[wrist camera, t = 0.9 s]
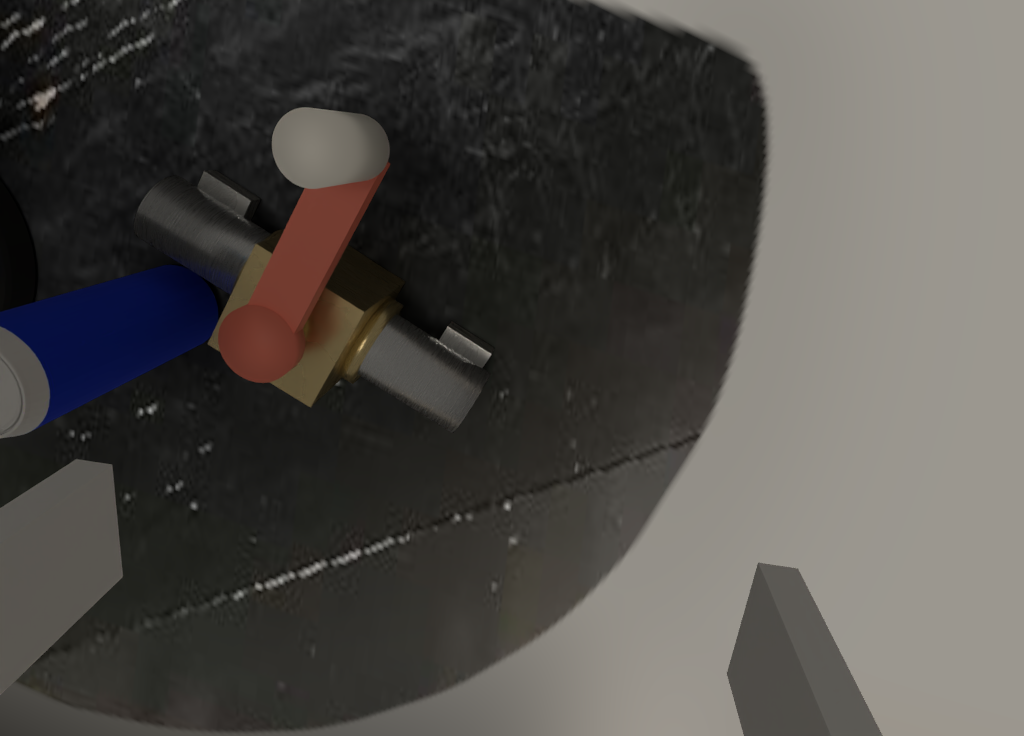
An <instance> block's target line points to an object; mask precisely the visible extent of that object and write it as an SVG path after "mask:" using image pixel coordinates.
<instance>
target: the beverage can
mask: <svg viewBox="0 0 1024 736" xmlns="http://www.w3.org/2000/svg"><path fill="white" fill-rule="evenodd" d="M217 322H218V306H217V302H216V299H215V296H214V294H213V292H212V290H211V288H210V287H209V286H208V284H207V283H206V282H205V281H204V280H203V279H202V278H201V277H200V276H199V275H197V274H196V273H195V272H193V271H191V270H189V269H187V268H184V267H181V266H177V265H164V266H160V267H156V268H153V269H149V270H146V271H142V272H139V273H135V274H132V275H128V276H125V277H121V278H118V279H114V280H111V281H107V282H104V283H100V284H97V285H93V286H90V287H86V288H83V289H79V290H76V291H72V292H69V293H65V294H62V295H58V296H55V297H51V298H47V299H44V300H40V301H37V302H33V303H30V304H26V305H23V306H19V307H16V308H12V309H9V310H5V311H2V312H0V438H6V437H14V436H19V435H23V434H26V433H28V432H31V431H33V430H35V429H37V428H39V427H41V426H42V425H44V424H46V423H48V422H50V421H52V420H54V419H56V418H58V417H60V416H62V415H64V414H66V413H68V412H70V411H72V410H74V409H76V408H78V407H80V406H82V405H83V404H85V403H87V402H89V401H91V400H93V399H95V398H97V397H99V396H101V395H103V394H105V393H107V392H109V391H111V390H113V389H115V388H117V387H119V386H121V385H122V384H124V383H126V382H128V381H130V380H132V379H134V378H136V377H138V376H140V375H142V374H144V373H146V372H148V371H150V370H152V369H154V368H156V367H158V366H160V365H162V364H163V363H165V362H167V361H169V360H171V359H173V358H175V357H177V356H179V355H181V354H183V353H185V352H187V351H189V350H191V349H193V348H195V347H197V346H199V345H201V344H203V343H204V342H205V341H207V340H208V339H209V338H210V337H211V336H212V334H213V331H214V329H215V327H216V325H217Z"/></svg>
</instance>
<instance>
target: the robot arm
mask: <svg viewBox="0 0 1024 736" xmlns="http://www.w3.org/2000/svg"><path fill="white" fill-rule="evenodd" d="M35 279H36V276H35V260H34V253H33V248H32V244H31V240H30V237H29V233H28V230H27V228H26V225H25V222H24V220H23V218H22V215H21V213H20V211H19V209H18V207H17V205H16V203H15V202H14V200H13V198H12V196H11V195H10V193H9V192H8V190H7V189H6V187H5V186H4V184H3V183H2V182H1V180H0V312H2V311H5V310H9V309H12V308H16V307H19V306H23V305H26V304H30V303H32V301H33V297H34V291H35ZM122 577H123V572H122V562H121V552H120V541H119V531H118V520H117V510H116V499H115V489H114V479H113V468H112V465H111V464H105V463H98V462H91V461H85V460H78V459H76V460H74V461H73V462H71V463H70V464H68V465H67V466H65V467H64V468H62V469H60V470H59V471H57V472H56V473H54V474H53V475H51V476H50V477H48V478H46V479H45V480H43V481H42V482H40V483H39V484H37V485H36V486H34V487H32V488H31V489H29V490H28V491H26V492H25V493H23V494H22V495H20V496H18V497H17V498H15V499H14V500H12V501H11V502H9V503H8V504H6V505H4V506H3V507H1V508H0V695H1V694H2V693H3V692H4V691H5V690H6V689H7V688H8V687H9V686H10V685H11V684H12V683H13V682H15V681H16V680H17V679H18V678H19V677H20V676H21V675H22V674H23V673H24V672H25V671H26V670H27V669H28V668H29V667H30V666H31V665H32V664H33V663H34V662H35V661H36V660H37V659H38V658H39V657H40V656H41V655H42V654H43V653H45V652H46V651H47V650H48V649H49V648H50V647H51V646H52V645H53V644H54V643H55V642H56V641H57V640H58V639H59V638H60V637H61V636H62V635H63V634H64V633H65V632H66V631H67V630H68V629H69V628H70V627H71V626H72V625H73V624H74V623H76V622H77V621H78V620H79V619H80V618H81V617H82V616H83V615H84V614H85V613H86V612H87V611H88V610H89V609H90V608H91V607H92V606H93V605H94V604H95V603H96V602H97V601H98V600H99V599H100V598H101V597H102V596H103V595H104V594H106V593H107V592H108V591H109V590H110V589H111V588H112V587H113V586H114V585H115V584H116V583H117V582H118V581H119V580H120V579H121V578H122ZM727 676H728V679H729V683H730V686H731V690H732V694H733V697H734V701H735V705H736V708H737V712H738V715H739V719H740V723H741V726H742V730H743V734H744V736H882V734H881V732H880V730H879V728H878V726H877V724H876V722H875V720H874V718H873V716H872V714H871V712H870V710H869V708H868V706H867V704H866V702H865V700H864V698H863V696H862V694H861V692H860V691H859V688H858V686H857V684H856V682H855V680H854V678H853V677H852V675H851V673H850V671H849V669H848V667H847V665H846V663H845V661H844V659H843V657H842V655H841V653H840V651H839V649H838V647H837V645H836V643H835V641H834V639H833V637H832V635H831V633H830V631H829V629H828V627H827V625H826V623H825V621H824V619H823V617H822V615H821V613H820V611H819V609H818V607H817V605H816V603H815V601H814V600H813V598H812V596H811V594H810V592H809V590H808V588H807V586H806V584H805V582H804V580H803V578H802V576H801V574H800V572H799V570H798V569H796V568H790V567H783V566H776V565H770V564H763V563H758V565H757V569H756V572H755V576H754V579H753V583H752V587H751V590H750V594H749V597H748V601H747V605H746V608H745V612H744V615H743V618H742V622H741V626H740V629H739V633H738V636H737V640H736V644H735V647H734V650H733V654H732V658H731V661H730V665H729V668H728V672H727Z"/></svg>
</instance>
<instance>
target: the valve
mask: <svg viewBox="0 0 1024 736" xmlns="http://www.w3.org/2000/svg"><path fill="white" fill-rule="evenodd" d="M260 200H261V199H260V198H258V197H257V196H255V195H254V194H252V193H251V192H249V191H247V190H246V189H244V188H243V187H241V186H240V185H238V184H237V183H235V182H233V181H232V180H230V179H229V178H227V177H226V176H224V175H222V174H221V173H219V172H218V171H216V170H210V171H204V172H203V175H202V177H201V179H200V182H199V184H198V186H197V187H196V186H194V185H193V184H191V183H190V182H188V181H187V180H185V179H183V178H182V177H180V176H177V175H172V176H169V177H166V178H164V179H163V180H161V181H160V182H158V183H157V184H156V185H155V186H154V187H153V188H152V189H151V190H150V191H149V192H148V193H147V195H146V196H145V197H144V199H143V200H142V202H141V204H140V206H139V208H138V210H137V212H136V215H135V219H134V232H135V234H136V236H137V237H139V238H140V239H142V240H143V241H145V242H147V243H148V244H150V245H151V246H153V247H155V248H156V249H158V250H159V251H161V252H163V253H164V254H166V255H167V256H169V257H171V258H172V259H174V260H175V261H177V262H179V263H180V264H182V265H184V266H185V267H187V268H188V269H190V270H192V271H193V272H195V273H196V274H198V275H200V276H201V277H203V278H204V279H206V280H208V281H209V282H211V283H212V284H214V285H216V286H217V287H219V288H220V289H222V290H224V291H225V292H227V293H228V294H230V298H229V300H228V302H227V304H226V306H225V308H224V311H223V313H222V315H221V317H220V319H219V321H218V323H217V325H216V327H215V329H214V331H213V334H212V336H211V338H210V340H209V342H208V345H210V346H211V347H213V348H215V349H216V350H218V351H219V352H220V349H219V344H218V333H219V328H220V326H221V323H222V322H223V320H224V319H225V317H226V316H227V315H228V314H229V313H231V312H232V311H234V310H236V309H238V308H240V307H242V306H244V305H246V304H248V303H249V301H250V299H251V297H252V295H253V292H254V290H255V288H256V286H257V284H258V282H259V280H260V278H261V276H262V274H263V272H264V270H265V268H266V266H267V264H268V262H269V260H270V258H271V256H272V254H273V252H274V250H275V248H276V246H277V244H278V242H279V240H280V238H281V236H282V234H283V231H284V230H283V229H281V230H277V231H275V232H274V233H272V234H270V233H269V232H267V231H265V230H264V229H262V228H261V227H259V226H257V225H256V224H254V223H253V222H251V219H252V217H253V215H254V213H255V211H256V209H257V207H258V204H259V202H260ZM404 283H405V281H403V280H402V279H400V278H399V277H397V276H396V275H394V274H393V273H391V272H389V271H388V270H386V269H385V268H383V267H382V266H380V265H378V264H377V263H375V262H374V261H372V260H371V259H369V258H368V257H366V256H364V255H363V254H361V253H360V252H358V251H357V250H355V249H353V248H352V247H350V246H349V245H347V247H346V249H345V250H344V252H343V254H342V256H341V258H340V260H339V262H338V264H337V265H336V267H335V269H334V271H333V273H332V275H331V277H330V279H329V280H328V282H327V284H326V286H325V288H324V290H323V292H322V294H321V295H320V297H319V299H318V301H317V303H316V305H315V307H314V309H313V310H312V312H311V314H310V316H309V318H308V320H307V322H306V324H305V325H304V327H303V331H304V335H305V351H304V354H303V357H302V359H301V360H300V362H299V363H298V364H297V365H296V366H295V367H294V368H293V369H292V370H290V371H289V372H288V373H286V374H285V375H284V376H282V377H281V378H279V379H277V380H275V381H272V382H270V383H271V384H273V385H275V386H276V387H278V388H280V389H281V390H283V391H284V392H286V393H288V394H289V395H291V396H293V397H294V398H296V399H297V400H299V401H301V402H302V403H304V404H306V405H307V406H309V407H312V406H313V405H314V404H315V403H316V402H317V401H318V400H319V399H320V398H321V397H322V396H323V395H324V394H325V393H327V392H328V391H329V390H330V389H331V388H332V387H333V386H334V385H335V384H336V383H337V382H338V381H339V380H340V379H342V378H344V379H346V380H347V381H349V382H351V383H352V384H353V383H354V382H356V381H357V380H358V379H359V378H360V376H362V377H363V378H365V379H366V380H368V381H370V382H371V383H373V384H374V385H376V386H378V387H379V388H381V389H382V390H384V391H386V392H387V393H389V394H390V395H392V396H394V397H395V398H397V399H398V400H400V401H402V402H403V403H405V404H406V405H408V406H410V407H411V408H413V409H415V410H416V411H418V412H419V413H421V414H423V415H424V416H426V417H427V418H429V419H431V420H432V421H434V422H435V423H437V424H439V425H440V426H442V427H443V428H445V429H447V430H448V431H450V432H451V433H454V432H455V431H456V429H457V428H458V427H459V425H460V424H461V422H462V421H463V419H464V418H465V416H466V415H467V413H468V412H469V410H470V409H471V407H472V406H473V404H474V402H475V401H476V399H477V398H478V396H479V394H480V393H481V391H482V389H483V388H484V386H485V384H486V382H487V381H488V379H489V377H490V374H491V373H489V372H488V371H486V370H484V369H483V367H484V365H485V364H486V362H487V361H488V359H489V357H490V356H491V354H492V352H493V350H494V348H493V347H492V346H490V345H489V344H487V343H486V342H484V341H482V340H481V339H479V338H478V337H476V336H475V335H473V334H471V333H470V332H468V331H467V330H465V329H464V328H462V327H460V326H459V325H457V324H456V323H454V322H453V321H451V323H450V324H449V325H448V327H447V328H446V330H445V331H444V333H443V335H442V336H441V338H440V339H439V340H437V339H436V338H434V337H432V336H431V335H429V334H428V333H426V332H424V331H423V330H421V329H420V328H418V327H417V326H415V325H413V324H412V323H410V322H409V321H407V320H406V319H404V318H402V317H401V316H400V314H401V312H402V309H403V305H402V304H400V303H399V302H397V301H396V300H395V299H396V297H397V296H398V294H399V292H400V290H401V289H402V287H403V285H404Z"/></svg>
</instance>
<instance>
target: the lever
mask: <svg viewBox="0 0 1024 736" xmlns="http://www.w3.org/2000/svg"><path fill="white" fill-rule="evenodd" d="M272 152H273V156H274V159H275V162H276V164H277V166H278V168H279V169H280V171H281V172H282V174H283V175H284V176H285V177H286V178H287V179H288V180H290V181H291V182H292V183H294V184H296V185H298V186H300V187H303V188H305V189H304V191H303V193H302V195H301V197H300V199H299V201H298V203H297V205H296V207H295V209H294V211H293V213H292V215H291V217H290V219H289V221H288V223H287V225H286V227H285V229H284V231H283V234H282V236H281V238H280V240H279V242H278V244H277V246H276V248H275V250H274V252H273V254H272V256H271V258H270V260H269V262H268V264H267V266H266V268H265V270H264V272H263V274H262V276H261V278H260V280H259V282H258V284H257V286H256V288H255V290H254V292H253V295H252V297H251V299H250V301H249V303H248V304H246V305H244V306H242V307H240V308H238V309H236V310H234V311H232V312H231V313H229V314H228V315H227V316H226V317H225V319H224V320H223V322H222V323H221V326H220V328H219V333H218V344H219V349H220V352H221V354H222V357H223V359H224V360H225V362H226V363H227V365H228V366H229V367H230V368H231V369H232V370H233V371H234V372H235V373H236V374H238V375H239V376H241V377H243V378H244V379H247V380H249V381H253V382H258V383H266V382H272V381H275V380H277V379H279V378H281V377H282V376H284V375H285V374H286V373H288V372H289V371H290V370H292V369H293V368H294V367H295V366H296V365H297V364H298V363H299V362H300V360H301V359H302V357H303V354H304V351H305V335H304V331H303V327H304V325H305V324H306V322H307V320H308V318H309V316H310V314H311V312H312V310H313V309H314V307H315V305H316V303H317V301H318V299H319V297H320V295H321V294H322V292H323V290H324V288H325V286H326V284H327V282H328V280H329V279H330V277H331V275H332V273H333V271H334V269H335V267H336V265H337V264H338V262H339V260H340V258H341V256H342V254H343V252H344V250H345V249H346V247H347V245H348V243H349V241H350V239H351V237H352V235H353V233H354V232H355V230H356V228H357V226H358V224H359V222H360V220H361V218H362V217H363V215H364V213H365V211H366V209H367V207H368V205H369V203H370V202H371V200H372V198H373V196H374V194H375V192H376V190H377V188H378V187H379V185H380V183H381V181H382V179H383V177H384V175H385V173H386V172H387V170H388V168H389V166H390V163H389V162H388V159H389V152H390V148H389V141H388V138H387V135H386V133H385V131H384V130H383V128H382V127H381V125H380V124H379V123H378V122H377V121H375V120H374V119H372V118H371V117H369V116H366V115H363V114H356V113H348V112H340V111H332V110H324V109H316V108H308V107H304V108H297V109H294V110H292V111H290V112H288V113H287V114H285V115H284V116H283V117H282V118H281V119H280V120H279V122H278V123H277V125H276V127H275V130H274V132H273V137H272Z"/></svg>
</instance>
